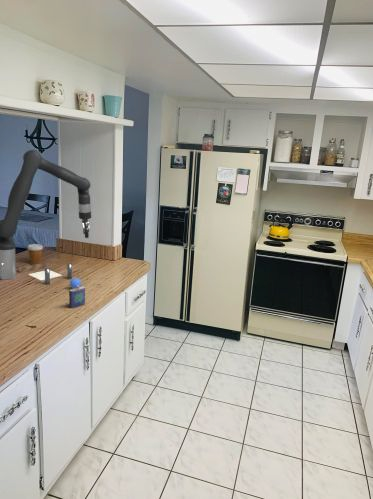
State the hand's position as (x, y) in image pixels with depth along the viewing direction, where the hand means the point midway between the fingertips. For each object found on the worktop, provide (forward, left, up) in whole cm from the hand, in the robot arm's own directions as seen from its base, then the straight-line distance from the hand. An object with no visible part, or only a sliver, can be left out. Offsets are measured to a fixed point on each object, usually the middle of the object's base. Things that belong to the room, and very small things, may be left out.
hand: (86, 235), depth 244 cm
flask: (-39, -45, -22) cm, 64 cm away
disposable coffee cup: (-18, +29, -22) cm, 40 cm away
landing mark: (-26, +5, -22) cm, 34 cm away
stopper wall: (-26, +19, -22) cm, 39 cm away
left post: (-33, -9, -22) cm, 41 cm away
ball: (-26, -25, -19) cm, 41 cm away
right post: (-19, -9, -22) cm, 30 cm away
